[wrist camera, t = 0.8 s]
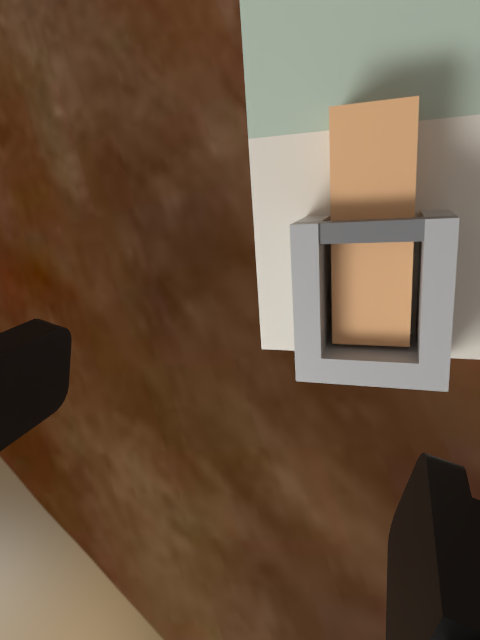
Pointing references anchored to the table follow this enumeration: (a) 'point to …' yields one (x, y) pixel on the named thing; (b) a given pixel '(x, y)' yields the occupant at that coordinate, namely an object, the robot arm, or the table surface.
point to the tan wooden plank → (373, 203)
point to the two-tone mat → (314, 176)
